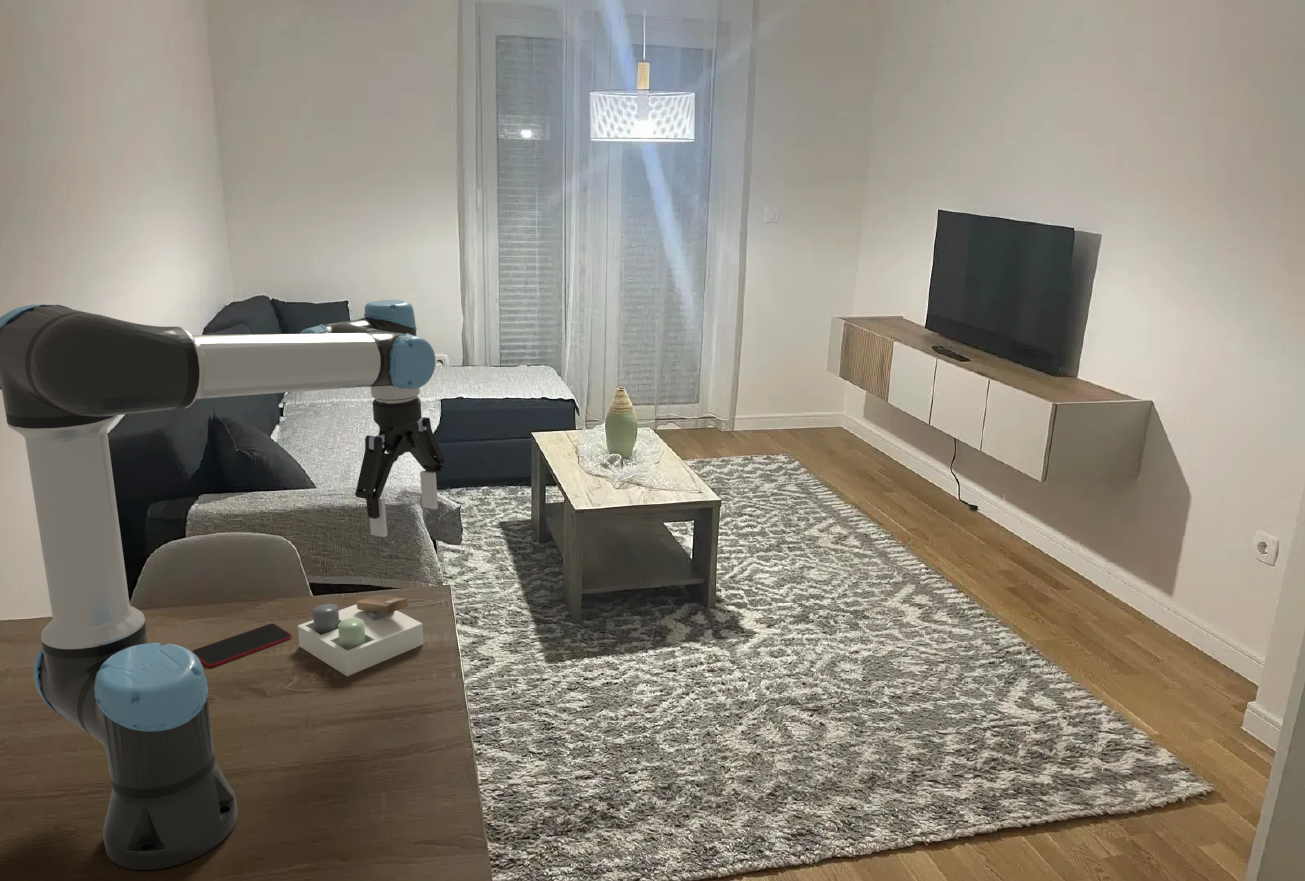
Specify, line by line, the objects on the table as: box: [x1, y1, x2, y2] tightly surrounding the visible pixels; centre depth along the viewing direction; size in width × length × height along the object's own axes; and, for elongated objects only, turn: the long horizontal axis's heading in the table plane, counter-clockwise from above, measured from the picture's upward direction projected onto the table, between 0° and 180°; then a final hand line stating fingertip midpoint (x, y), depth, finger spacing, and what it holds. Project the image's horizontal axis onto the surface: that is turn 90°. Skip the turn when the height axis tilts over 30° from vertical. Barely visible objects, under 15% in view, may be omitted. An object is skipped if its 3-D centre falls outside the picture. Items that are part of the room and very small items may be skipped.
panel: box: [297, 604, 424, 677], centre depth 170 cm, size 15×15×5 cm
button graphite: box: [312, 603, 340, 635], centre depth 169 cm, size 4×4×4 cm
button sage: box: [338, 618, 366, 651], centre depth 164 cm, size 4×4×4 cm
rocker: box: [355, 594, 409, 614], centre depth 172 cm, size 4×10×2 cm, turn 48°
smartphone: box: [191, 623, 293, 668], centre depth 170 cm, size 7×1×15 cm
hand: (405, 521), depth 164 cm, fingers open, 13 cm apart
